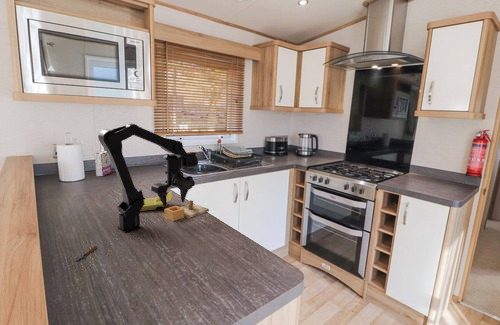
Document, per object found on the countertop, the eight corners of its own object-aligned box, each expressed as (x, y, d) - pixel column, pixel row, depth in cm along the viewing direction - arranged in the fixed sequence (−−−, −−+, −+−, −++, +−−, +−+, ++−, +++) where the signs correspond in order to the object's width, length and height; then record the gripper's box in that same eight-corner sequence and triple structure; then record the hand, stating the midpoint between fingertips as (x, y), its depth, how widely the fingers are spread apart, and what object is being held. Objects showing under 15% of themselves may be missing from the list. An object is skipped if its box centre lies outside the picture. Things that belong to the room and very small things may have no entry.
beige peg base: (189, 217, 118) (189, 207, 117) (172, 211, 125) (172, 201, 124) (208, 211, 127) (209, 201, 127) (192, 205, 135) (192, 195, 134)
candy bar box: (104, 173, 195) (103, 150, 192) (111, 173, 195) (110, 151, 192) (95, 176, 184) (94, 153, 181) (102, 176, 184) (101, 153, 181)
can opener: (94, 248, 89) (94, 245, 89) (100, 249, 89) (100, 246, 88) (71, 263, 80) (71, 259, 80) (78, 264, 80) (77, 260, 80)
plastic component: (127, 208, 120) (129, 193, 128) (130, 219, 125) (131, 204, 132) (172, 202, 126) (171, 188, 134) (173, 213, 130) (172, 199, 138)
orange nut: (172, 221, 114) (172, 212, 113) (164, 217, 117) (164, 208, 117) (184, 217, 118) (184, 208, 118) (176, 213, 122) (175, 205, 121)
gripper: (166, 175, 102) (166, 214, 105) (203, 169, 117) (202, 203, 119) (150, 171, 109) (150, 207, 111) (186, 165, 123) (186, 198, 126)
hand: (174, 204), depth 117 cm, fingers open, 9 cm apart
